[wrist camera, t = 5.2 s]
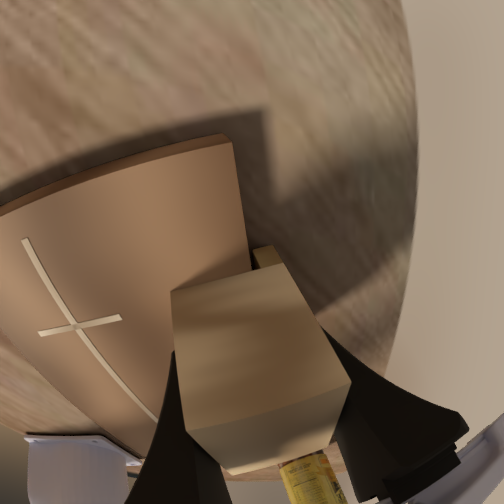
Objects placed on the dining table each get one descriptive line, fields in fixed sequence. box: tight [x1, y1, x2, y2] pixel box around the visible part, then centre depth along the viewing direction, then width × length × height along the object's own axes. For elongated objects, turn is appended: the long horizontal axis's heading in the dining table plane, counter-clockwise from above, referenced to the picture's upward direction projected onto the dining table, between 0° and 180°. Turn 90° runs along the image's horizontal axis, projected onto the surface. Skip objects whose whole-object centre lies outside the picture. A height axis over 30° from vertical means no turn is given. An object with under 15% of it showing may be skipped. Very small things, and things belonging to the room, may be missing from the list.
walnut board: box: [0, 133, 252, 458], centre depth 14 cm, size 11×22×2 cm, turn 7°
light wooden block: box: [170, 245, 351, 475], centre depth 10 cm, size 4×6×6 cm, turn 7°
